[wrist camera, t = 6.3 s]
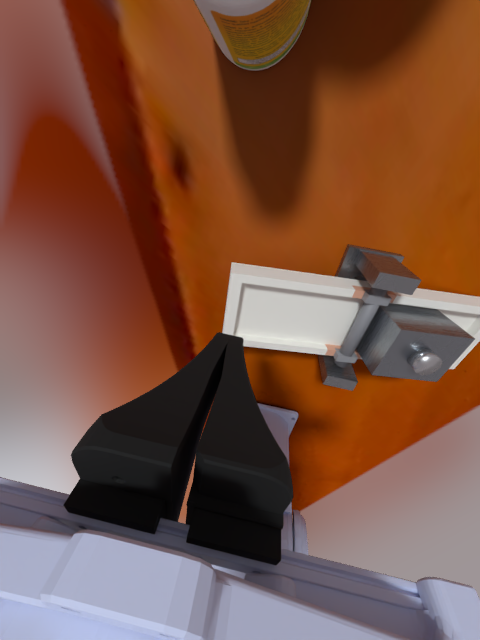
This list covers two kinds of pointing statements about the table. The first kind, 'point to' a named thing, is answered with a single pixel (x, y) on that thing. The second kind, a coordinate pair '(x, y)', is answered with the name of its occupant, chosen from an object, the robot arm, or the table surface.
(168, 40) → the table surface
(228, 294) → the beam
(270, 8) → the supplement bottle
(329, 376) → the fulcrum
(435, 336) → the block
